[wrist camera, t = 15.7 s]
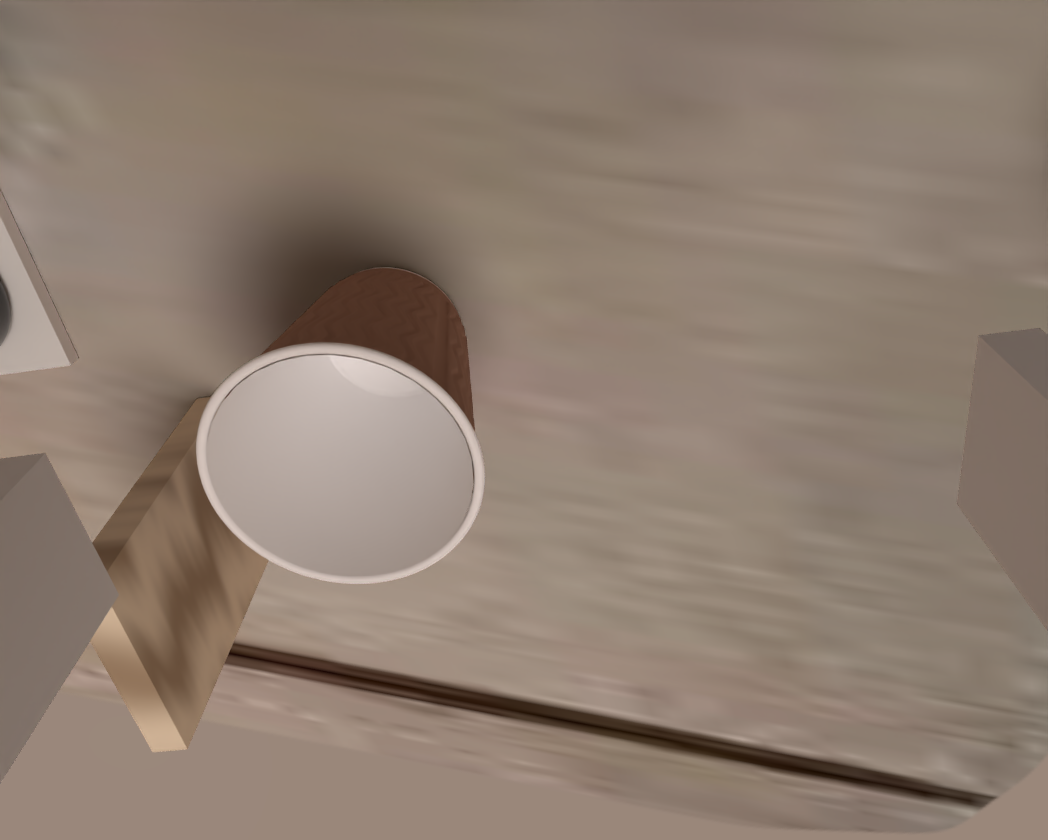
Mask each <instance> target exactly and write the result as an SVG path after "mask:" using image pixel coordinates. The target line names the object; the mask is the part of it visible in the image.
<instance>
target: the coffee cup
mask: <svg viewBox="0 0 1048 840" xmlns="http://www.w3.org/2000/svg"><path fill="white" fill-rule="evenodd" d="M224 399H225V400H224ZM223 400H224V401H223ZM222 401H223V402H222ZM220 404H221V405H220ZM219 406H220V407H219ZM218 408H219V409H218ZM217 410H218V411H217ZM216 412H217V413H216ZM215 414H216V415H215ZM214 416H215V417H214ZM213 418H214V419H213ZM210 427H211V428H210ZM196 456H197V465H198V471H199V475H200V479H201V482H202V485H203V488H204V490H205V493H206V495H207V497H208V499H209V501H210V503H211V505H212V506H213V508H214V510H215V511H216V513H217V514H218V516H219V517H220V518H221V520H222V521H223V522H224V523H225V525H226V526H227V527H228V528H229V529H230V530H231V531H232V532H233V533H234V534H235V535H236V536H237V537H238V538H239V539H240V540H241V541H242V542H243V543H245V544H246V545H247V546H248V547H250V548H251V549H252V550H254V551H255V552H256V553H258V554H259V555H261V556H262V557H264V558H266V559H267V560H269V561H271V562H273V563H275V564H277V565H279V566H281V567H283V568H285V569H287V570H290V571H292V572H295V573H298V574H301V575H304V576H307V577H310V578H314V579H318V580H323V581H329V582H336V583H347V584H368V583H379V582H385V581H391V580H395V579H399V578H402V577H406V576H409V575H411V574H414V573H416V572H419V571H421V570H423V569H425V568H427V567H429V566H431V565H432V564H434V563H436V562H437V561H439V560H440V559H442V558H443V557H444V556H445V555H447V554H448V553H449V552H450V551H451V550H452V549H453V548H454V547H455V546H456V545H457V544H458V543H459V542H460V541H461V540H462V539H463V538H464V536H465V535H466V534H467V532H468V531H469V529H470V528H471V526H472V525H473V523H474V521H475V519H476V517H477V514H478V512H479V509H480V506H481V503H482V499H483V494H484V487H485V467H484V460H483V454H482V451H481V447H480V444H479V441H478V438H477V436H476V433H475V427H474V419H473V404H472V393H471V384H470V370H469V358H468V349H467V338H466V336H465V330H464V327H463V325H462V323H461V319H460V317H459V315H458V312H457V311H456V309H455V307H454V305H453V303H452V302H451V300H450V299H449V298H448V297H447V296H446V294H445V293H444V292H443V291H442V290H441V289H440V288H439V287H437V286H436V285H435V284H434V283H433V282H431V281H430V280H428V279H426V278H424V277H423V276H421V275H419V274H416V273H413V272H411V271H408V270H405V269H399V268H392V267H379V268H371V269H367V270H363V271H360V272H358V273H355V274H353V275H351V276H349V277H347V278H346V279H344V280H340V281H339V282H338V283H337V284H336V285H335V286H332V287H330V288H329V289H328V290H327V291H326V292H325V293H324V294H323V295H322V296H321V297H320V298H319V299H318V300H317V301H316V302H315V303H314V304H313V305H312V306H311V307H310V308H309V309H308V310H307V311H306V312H305V313H304V314H302V315H301V316H300V317H299V318H298V319H297V320H296V321H295V322H294V323H293V324H292V325H291V326H290V327H289V328H288V329H287V330H286V331H285V332H284V333H283V334H282V335H281V336H280V337H279V338H278V339H277V340H276V341H275V342H274V343H272V344H271V345H270V346H269V347H268V348H267V349H266V350H265V351H264V352H263V353H262V354H261V355H260V356H258V357H256V358H254V359H252V360H250V361H248V362H247V363H245V364H243V365H242V366H240V367H239V368H238V369H236V370H235V371H234V372H232V373H231V374H230V375H229V376H228V377H227V378H226V379H225V380H224V381H223V382H222V383H221V384H220V385H219V386H218V388H217V389H216V390H215V392H214V393H213V394H212V396H211V397H210V399H209V401H208V402H207V404H206V407H205V409H204V411H203V413H202V416H201V419H200V422H199V426H198V431H197V439H196ZM473 483H474V487H473ZM472 492H473V494H472ZM471 496H472V499H471ZM467 510H468V511H467ZM466 512H467V513H466Z"/></svg>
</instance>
